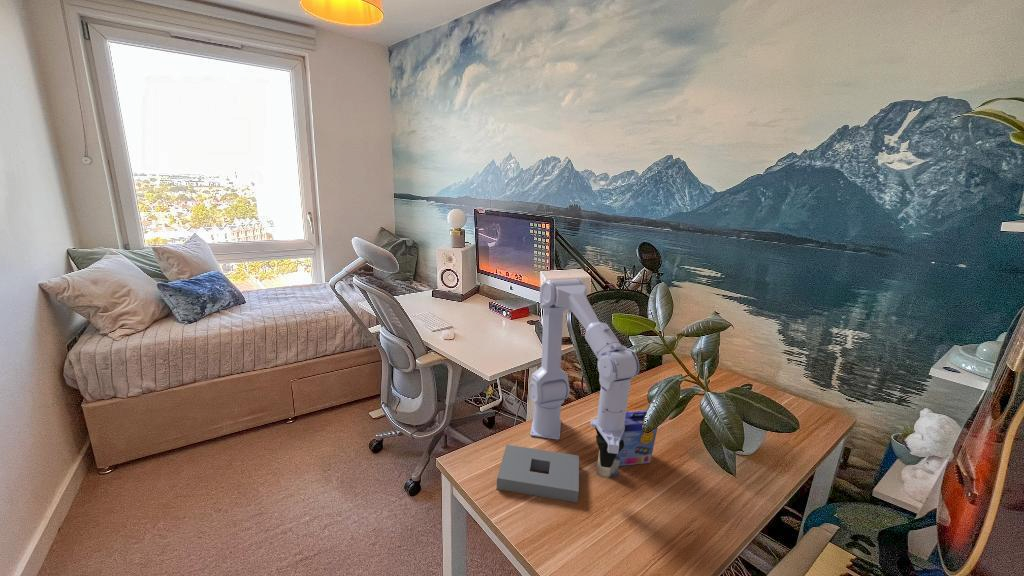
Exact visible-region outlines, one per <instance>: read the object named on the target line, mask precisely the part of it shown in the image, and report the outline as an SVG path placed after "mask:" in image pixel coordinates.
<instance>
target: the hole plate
mask: <svg viewBox="0 0 1024 576" xmlns="http://www.w3.org/2000/svg"><path fill="white" fill-rule="evenodd" d="M532 470H534V471H532ZM537 471H540V472H537ZM541 472H543V473H541ZM544 472H545V473H544ZM579 488H580V455H577V454H571V453H563V452H557V451H551V450H545V449H544V450H543V449H538V448H537V449H536V448H530V447H526V446H525V447H524V446H519V445H512V444H506V446H505V448H504V452H503V455H502V460H501V463H500V467H499V470H498V473H497V477H496V490H499V491H500V490H501V491H506V492H509V493H518V494H522V495H528V496H536V497H540V498H547V499H553V500H557V501H558V500H559V501H565V502H570V503H576V504H577V503H578V500H579V492H580V489H579Z"/></svg>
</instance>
